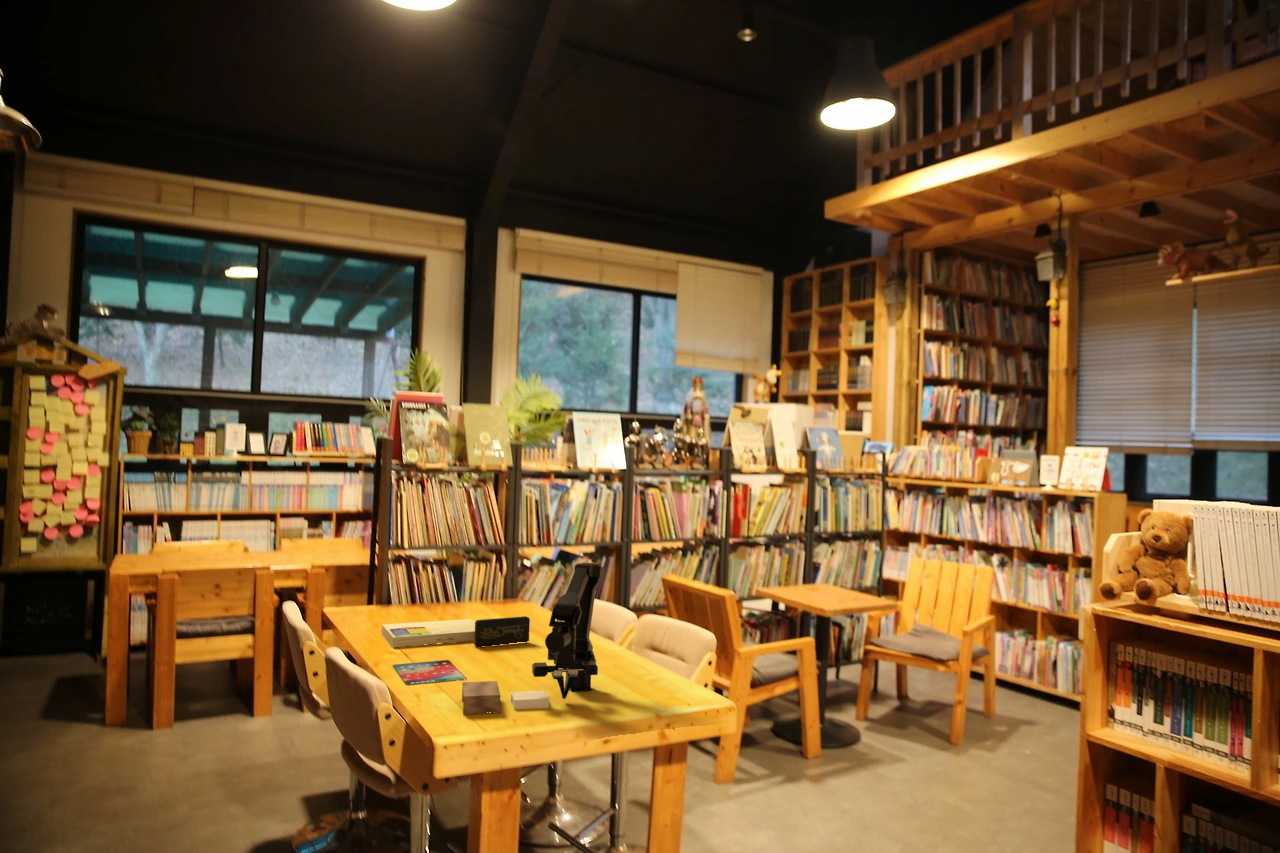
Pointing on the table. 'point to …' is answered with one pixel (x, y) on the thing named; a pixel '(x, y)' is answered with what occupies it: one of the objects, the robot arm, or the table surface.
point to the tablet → (428, 672)
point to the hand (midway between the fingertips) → (563, 698)
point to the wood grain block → (480, 697)
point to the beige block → (529, 699)
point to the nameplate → (501, 631)
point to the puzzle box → (429, 632)
